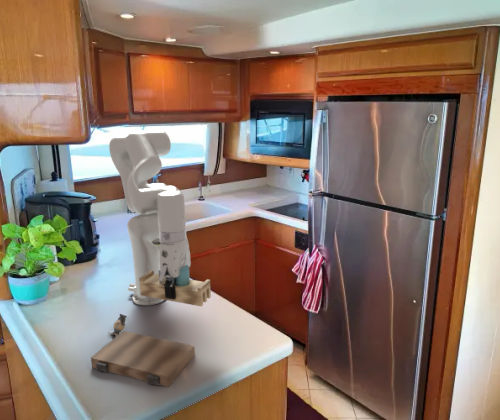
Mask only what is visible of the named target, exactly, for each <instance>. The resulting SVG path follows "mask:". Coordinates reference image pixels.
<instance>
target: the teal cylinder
mask: <svg viewBox="0 0 500 420" xmlns="http://www.w3.org/2000/svg"><path fill="white" fill-rule="evenodd" d="M190 278H191V277H190V267H189V266H188V265H186V266H185V267H184V268H183V269H181V270H180V275H179V276H178V277H177V278H175V279H176V285H177V286H187V285H189V284H190V280H191V279H190Z"/></svg>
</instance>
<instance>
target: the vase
mask: <svg viewBox="0 0 500 420" xmlns="http://www.w3.org/2000/svg"><path fill="white" fill-rule="evenodd" d="M126 319H127V315H125V314H121V313H119V317H118V318H117V320H115V321H114V324H113V330H114V331H113V332H110V331H109V332H107V334H108V335H110V336H114V335H115V337H117V336H118V335H119V334H120V333H122V332H123V331H124V329H125V327H126V321H127V320H126Z"/></svg>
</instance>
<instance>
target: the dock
mask: <svg viewBox="0 0 500 420" xmlns="http://www.w3.org/2000/svg"><path fill="white" fill-rule="evenodd" d="M195 355H196V353H195V345H192V344H187V343H181V342H179V341H177V342H176V341H172V340H167V339H164V338H158V337H153V336H150V335H144V334H139V333H135V332H130V331H126V330H123V331H121V332H119V335H118V336H117V337H116V336H115V337H114V338H113V339H112V340H111V341H110V342H108V343H107V344H106V345H104V347H102V348H101V349H100V350H98V351H97V352H96V353H95V354H94V355H92V356H91V357H90V361H91V367H92V368H94V369H96V371H101V372H104V373H107V372H109V373H114V374H117V375H121V376H124V377H125V376H126V377H128V378H132V379H138V380H141V381H145V382H147V384H150V385H154V386H159V385H160V386H164V387H168V388H169V387H170V386H171V385H172V384H173V382H175V380H176V379H177V378H178V376H180V374H181V373H182V372H183V370H184V369H185V368H186V366H187V365H188V364H189V363H190V361H191V360H192V359H193V358H194V357H195Z"/></svg>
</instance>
